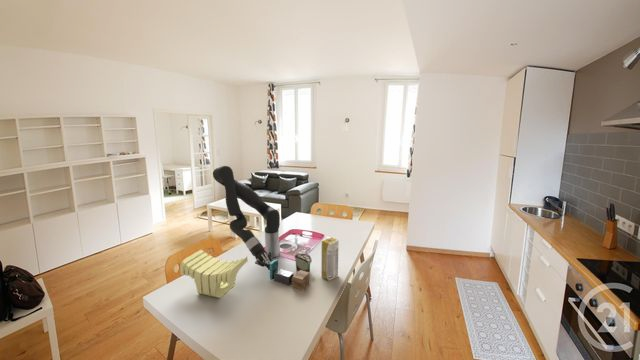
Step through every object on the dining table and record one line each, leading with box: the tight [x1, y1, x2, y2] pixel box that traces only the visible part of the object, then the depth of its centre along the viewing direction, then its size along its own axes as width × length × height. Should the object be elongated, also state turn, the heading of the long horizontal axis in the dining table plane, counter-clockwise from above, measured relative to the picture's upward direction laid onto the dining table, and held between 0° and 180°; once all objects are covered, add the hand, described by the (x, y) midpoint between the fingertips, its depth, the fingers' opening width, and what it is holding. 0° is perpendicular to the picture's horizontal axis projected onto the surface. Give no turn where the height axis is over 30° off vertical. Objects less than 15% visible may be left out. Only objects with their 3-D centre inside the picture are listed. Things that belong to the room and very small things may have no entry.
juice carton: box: [320, 236, 339, 282], centre depth 158 cm, size 9×8×24 cm
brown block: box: [292, 270, 311, 292], centre depth 150 cm, size 8×6×7 cm
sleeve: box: [273, 268, 295, 286], centre depth 155 cm, size 5×10×5 cm, turn 63°
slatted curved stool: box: [179, 249, 248, 298], centre depth 145 cm, size 30×16×18 cm, turn 73°
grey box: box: [269, 258, 293, 283], centre depth 153 cm, size 6×20×10 cm, turn 64°
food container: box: [294, 253, 313, 273], centre depth 165 cm, size 12×6×10 cm, turn 47°
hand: (272, 269), depth 158 cm, fingers closed
